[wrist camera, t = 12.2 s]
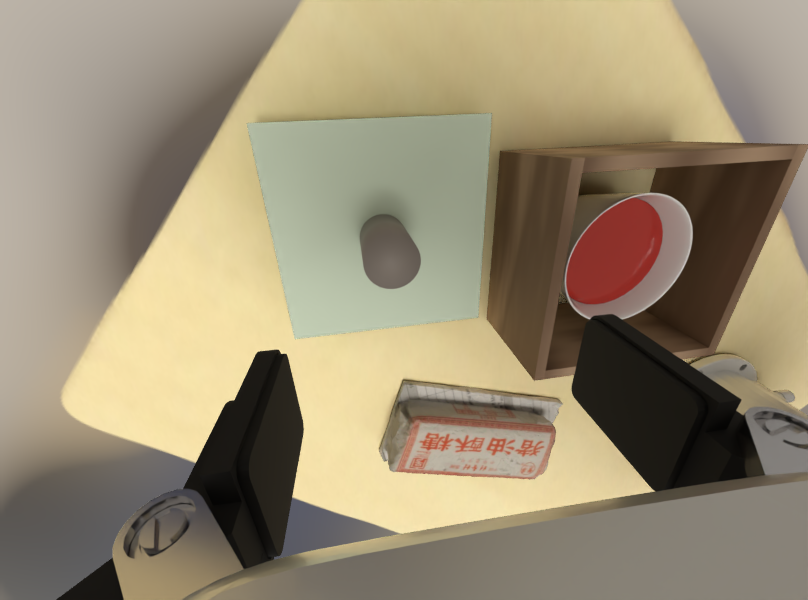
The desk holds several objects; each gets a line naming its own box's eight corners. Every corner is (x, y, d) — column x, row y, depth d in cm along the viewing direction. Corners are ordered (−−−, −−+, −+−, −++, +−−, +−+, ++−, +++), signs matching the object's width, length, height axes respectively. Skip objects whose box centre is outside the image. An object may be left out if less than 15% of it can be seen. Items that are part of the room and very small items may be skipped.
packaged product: (380, 491, 32) (410, 411, 28) (376, 449, 36) (401, 375, 32) (542, 497, 36) (586, 429, 32) (521, 459, 40) (558, 395, 37)
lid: (480, 114, 22) (532, 107, 16) (470, 306, 29) (504, 353, 22) (255, 124, 20) (216, 119, 14) (298, 325, 27) (284, 382, 21)
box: (672, 141, 26) (809, 144, 18) (626, 302, 32) (713, 354, 24) (500, 151, 24) (571, 158, 16) (486, 318, 30) (534, 380, 22)
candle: (576, 155, 25) (643, 161, 19) (642, 220, 28) (716, 242, 23) (498, 254, 27) (537, 284, 22) (567, 303, 31) (617, 340, 25)
